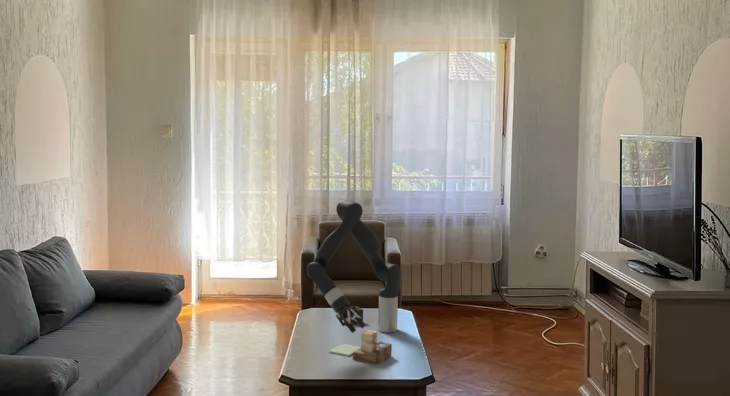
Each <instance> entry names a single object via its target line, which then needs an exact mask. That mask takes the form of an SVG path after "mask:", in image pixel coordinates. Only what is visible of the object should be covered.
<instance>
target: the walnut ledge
mask: <svg viewBox="0 0 730 396" xmlns="http://www.w3.org/2000/svg"><path fill="white" fill-rule="evenodd" d="M387 343H388V342H387ZM380 347H382V348H380ZM380 347H377V350H375V351H373V352H372V353H370V352H365V351H361V348H360V349H358V350H356V351H354V352H353V355H352V360H357V361H362V362H367V363H373V364H378V365H380V364H382V363H383V362H384V361H386V360H387V359H389V358H391V357H392V349H393V348H392V347H393V345H392V343H388V344H387V345H385V344H384V345H383V346H380Z"/></svg>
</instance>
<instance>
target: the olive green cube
mask: <svg viewBox="0 0 730 396" xmlns="http://www.w3.org/2000/svg"><path fill="white" fill-rule="evenodd" d="M354 306H355V307H356V308H357V310H358V311H359V312H360V313H361V315H362V317H361V320H362V321H363V322H364V309H363V308H361V307H360V306H356V305H354ZM350 307H351V308H352V307H353V306H350ZM357 315H358V313H357ZM355 318H356V317H355ZM356 319H357V318H356ZM350 322H351V323H352V325H353V324H358V323H357V321H355V320H352V319H350ZM351 323H350V324H351Z"/></svg>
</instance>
